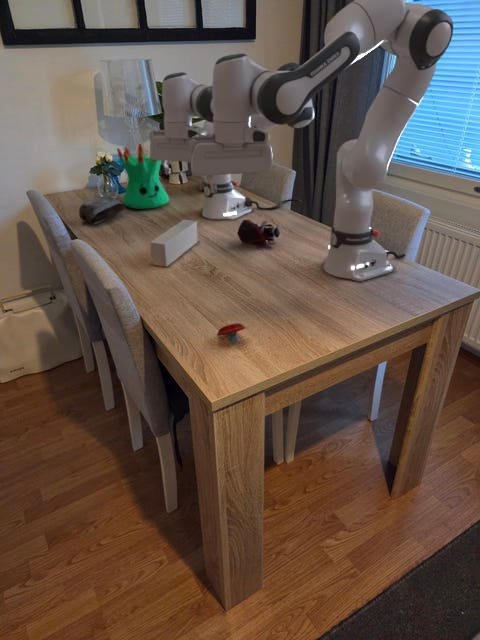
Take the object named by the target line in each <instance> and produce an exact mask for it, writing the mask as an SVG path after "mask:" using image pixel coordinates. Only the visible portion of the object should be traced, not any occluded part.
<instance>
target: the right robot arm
mask: <svg viewBox="0 0 480 640" xmlns="http://www.w3.org/2000/svg"><path fill="white" fill-rule="evenodd" d="M453 34H454V22H453V19H452V17H451V16H450V15H449V14H448V13H446V12H445V11H443V10H441V9H439V8H433V7H431V6H428V5H425V4H421V3H411V2H407V1H406V0H353V1H351V2H350V3H348V4H347V5H346V6H344V7H343V8H342V9H340V10H339V11H338V12H337V13H336V14H335V15H334V16H333V17H332V18H331V19H330V20H329V21H328V22H327V24H326V26H325V29H324V33H323V41H324V42H323V43H324V46H323V47H322V49H320V50H319V51H318V52H317V53H315V54H314V55H313V56H312V57H310V58H309V59H308V60H306V61H305V62H304V63H302V65H300V66H301V67H299V68H298V69H296V70H294V71H290V72H283V73H279V72H273V71H274V70H270V69H268V68H265V67H264V66H262V65H261V64H258V63H257V62H255V61H254V60H253V59H252V58H250V57H249V55H248V54H245V53H236V54H234V53H233V54H228V55H224V56H221V57H220V58H218V59H217V61H215V63H214V66H213V71H212V82H211V83H212V84H211V86H212V98H213V103H214V116H213V134H205V135H200V134H197V135H195V136H194V137H192V138H191V139H190V141H189V150H190V153H191V154H192V155H191V162H190V171H191V173H192V172H193V174H194V175H196V176H195V177H202V176H203V177H204V175H206V179H207V181H208V182H209V184H210V190H211V193H217V185H216V184H212V182H211V180H210V179H212V175H223V174H231V175H237V174H239V175H241V174H250V176H252V177H251V178H250V180H249V181H248V182H247V181H246V191H247V192H249V191H250V192H251V191H254V189H255V187H254V186H255V184H256V181H257V180H258V178H259V173H270V172H271V170H272V169H273V163H274V161H273V160H274V159H273V148H272V146H271V144H270V143H269V141H270V138H271V137H270V136H271V135H270V132H268V131H267V130H263V129H261V128H258V127H256V126H251V125H250V118H251V115H253V114H258V115H260V116H262V117H264V118H266V119H268V120H269V121H271V122H272V123H274V124H278V125H277V126H279V125H280V126H282V125H287V124H288V123H290V122H292V121H294V120H295V119H296V118H297V117H298V116H299V115H300V114H301V112H302V111H303V109H304V108H305V106H306V105H307V103H308V102H309V101H310V99H313V97H314V96H315V95H317V94H318V93H319V92H320V91H321V90H322V89H324V88H325V87H326V86H327V85H328V84H330V83H331V82H332V81H333V80H334V79H336V78H337V77H338V76H340V75H341V74H342V73H343V72H345V70H347V69H348V67H350V66H351V65H353V64H354V63H355V62H358V60H361V59H362V58H363V57H364V56H366V55H367V54H368V53H370V52H371V51H373V50H374V49H376V48H378V49H380V50H381V51H383V52H387V53H390V55H393V56H395V61H394V65H393V67H392V69H391V71H390V72H389V74H388V75H387V77H386V79H385V80H384V82H383V83H382V86H380V89H379V90H378V92H377V93H376V96H375V98H374V99H373V101H372V103H371V104H370V107H369V108H368V110H367V112H366V114H365V117H364V122H363V124H362V128H361V130H360V133H359V136H358V138H354V139H350V140H347V141H345V142H343V143H342V144H341V146H340V147H339V148H338V150H337V153H336V169H335V170H336V171H335V207H334V216H333V225H331V228H330V229H331V230H330V237H329V245H328V251H327V255H326V259H325V261H324V263H323V266H322V267H323V268H322V269H323V270H324V271H325V273H327V274H328V275H331V276H333V277H337V278H340V279H348V280H353V281H356V282H363V281H366V280H369V279H373V278H376V277H380V276H383V275H387V274H390V273H392V272H394V268H393V265H392V264H391V263H390V262H389V261H388V258H389V255H393V256H394V257H395V258H396V259H401V258H404V257H406V253H402V254H397V252H396V251H393V250H386V249H385V248H384V247H383V246H382V245H380V244H379V243H378V242H377V241H376V240H375V239H374V238H379V237H380V236H381V232H380V231H379V230H377V229H373V228H372V227H371V221H372V215H373V209H374V198H373V190H374V189H376V188H378V187H380V185H382V184H383V182H384V181H385V179H386V178H387V176H388V172H389V171H388V170H389V165H390V162H391V159H392V157H393V155H394V152H395V149H396V147H397V145H398V142H399V140H400V137H401V135H402V133H403V132H404V130H405V128H406V127H407V125H408V123H409V121H410V120H411V118H412V117H413V115H414V113H415V112H416V111H417V108H418V107H419V105H420V104H421V102H422V100H423V98H424V97H425V95H426V93H427V92H428V89H429V88H430V85H431V83H432V80H433V78H434V75H435V74H436V73H435V72H436V70H437V62H438V61H439V60H440V59H441V58H442V57H443V55H444V54H445V52H447V49H448V48H449V46H450V44H451V41H452V38H453ZM194 138H195V139H194ZM213 138H214V139H213ZM192 139H194V140H192Z"/></svg>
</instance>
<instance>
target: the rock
mask: <svg viewBox="0 0 480 640" xmlns="http://www.w3.org/2000/svg"><path fill="white" fill-rule="evenodd" d="M125 209H126V205H125V204H124V203H121V201H120V198H113V199H112V197H111V196H108V197H107V196H101V197H98V198H94V199H91V200H87V201H85V202H83V203H82V204H81V205H80V206H79V210H78V216H79V219H80V220H81V221H82V222H86V221H87V222H88V223H89V224H91V225H96V224H98V223H101V222H102V221H105V220H108V219H109V218H111V217H113V216H115V215H117V214H119V213H121V212H123V211H125Z"/></svg>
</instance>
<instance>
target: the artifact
mask: <svg viewBox="0 0 480 640" xmlns="http://www.w3.org/2000/svg"><path fill="white" fill-rule="evenodd" d="M198 190H199V191H201V192H202V191H204V177H203V178H201V179H200V184H199V187H198Z"/></svg>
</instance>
